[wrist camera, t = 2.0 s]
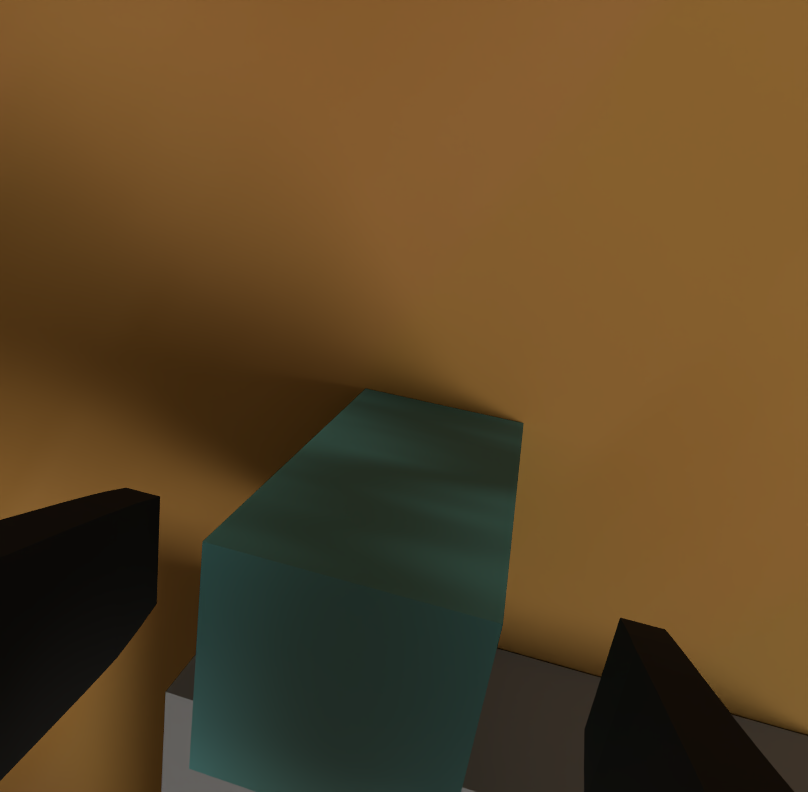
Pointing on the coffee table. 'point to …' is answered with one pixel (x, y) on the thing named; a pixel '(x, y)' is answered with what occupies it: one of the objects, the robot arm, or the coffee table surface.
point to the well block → (496, 733)
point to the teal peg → (358, 605)
